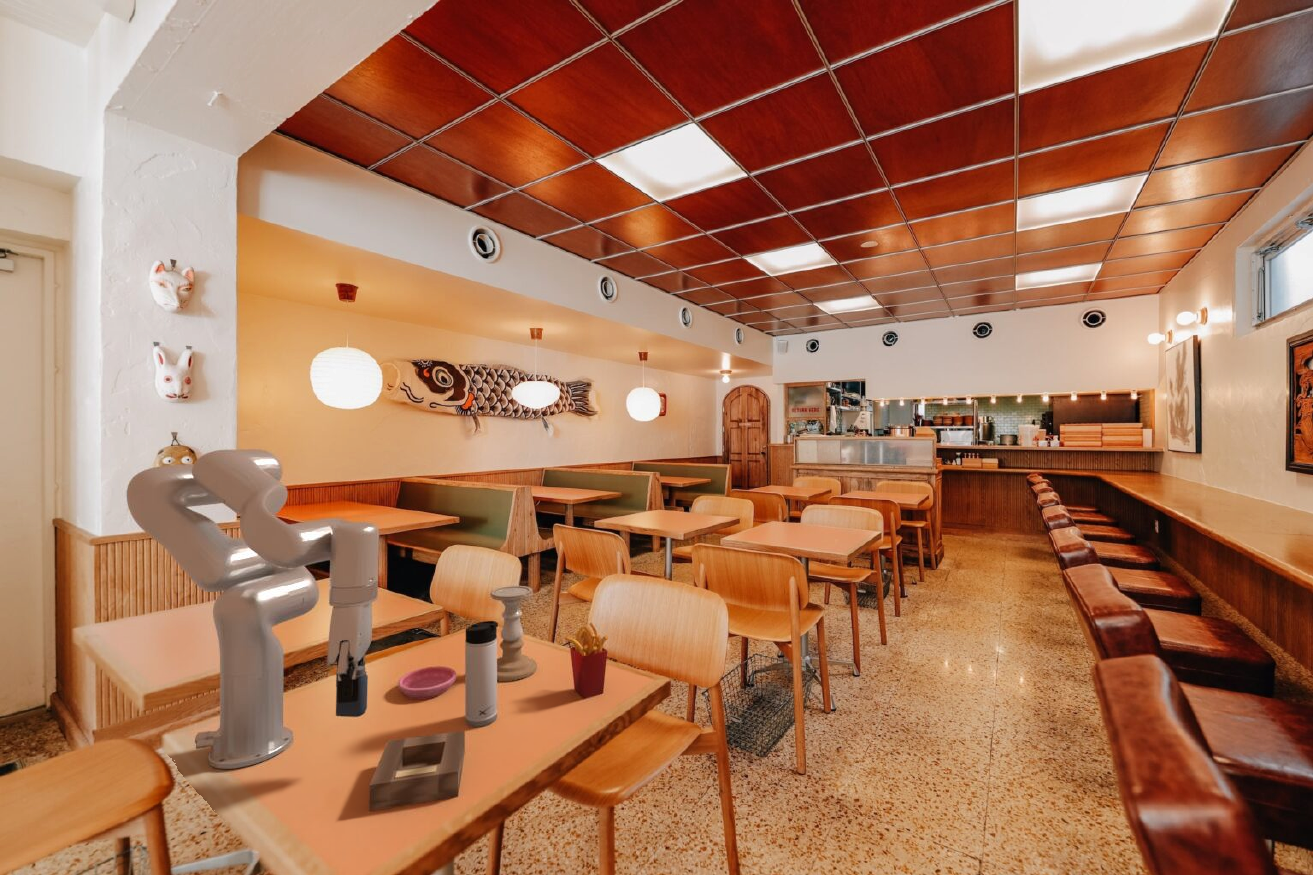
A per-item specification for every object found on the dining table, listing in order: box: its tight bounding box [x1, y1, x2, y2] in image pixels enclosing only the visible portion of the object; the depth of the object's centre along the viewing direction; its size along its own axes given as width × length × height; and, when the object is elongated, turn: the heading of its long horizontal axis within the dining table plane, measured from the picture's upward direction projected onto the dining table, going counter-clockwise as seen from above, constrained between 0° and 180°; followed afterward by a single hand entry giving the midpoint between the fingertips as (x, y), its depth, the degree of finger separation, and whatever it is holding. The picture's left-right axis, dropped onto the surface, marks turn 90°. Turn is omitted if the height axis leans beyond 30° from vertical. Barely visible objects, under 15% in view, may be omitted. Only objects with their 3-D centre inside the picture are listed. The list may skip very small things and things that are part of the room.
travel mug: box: [464, 620, 499, 728], centre depth 111 cm, size 6×7×20 cm
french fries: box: [565, 622, 609, 700], centre depth 124 cm, size 9×8×15 cm
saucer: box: [397, 666, 457, 700], centre depth 125 cm, size 12×12×3 cm
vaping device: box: [335, 658, 369, 718], centre depth 96 cm, size 3×5×12 cm, turn 88°
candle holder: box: [489, 585, 538, 682], centre depth 135 cm, size 12×12×20 cm
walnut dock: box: [368, 729, 466, 812], centre depth 92 cm, size 13×13×4 cm
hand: (351, 695), depth 96 cm, fingers closed on vaping device, 3 cm apart
